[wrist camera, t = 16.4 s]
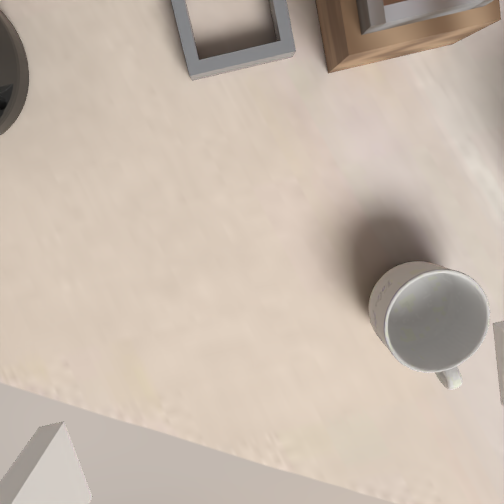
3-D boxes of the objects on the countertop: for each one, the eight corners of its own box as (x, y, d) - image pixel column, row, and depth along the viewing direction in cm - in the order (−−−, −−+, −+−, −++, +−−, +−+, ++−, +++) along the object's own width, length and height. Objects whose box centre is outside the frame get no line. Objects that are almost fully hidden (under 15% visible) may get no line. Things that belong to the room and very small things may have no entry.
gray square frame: (192, 80, 43) (189, 76, 41) (164, -33, 41) (160, -45, 38) (292, 56, 43) (295, 50, 41) (270, -58, 41) (272, -72, 38)
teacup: (354, 262, 48) (377, 283, 40) (448, 243, 48) (489, 260, 40) (370, 372, 51) (395, 411, 43) (459, 354, 51) (499, 390, 43)
